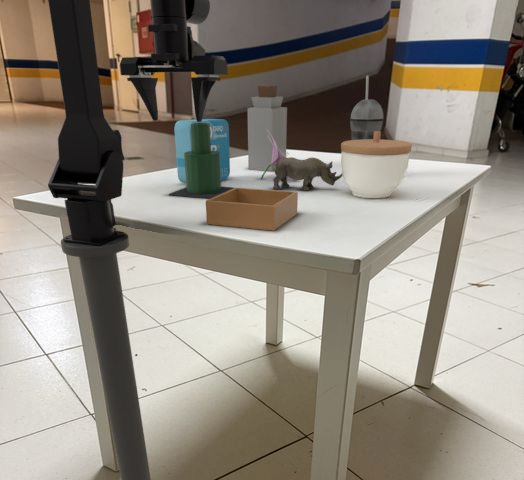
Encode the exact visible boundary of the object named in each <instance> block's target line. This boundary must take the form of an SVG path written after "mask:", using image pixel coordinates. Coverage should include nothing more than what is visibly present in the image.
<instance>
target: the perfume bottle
mask: <svg viewBox="0 0 524 480" xmlns="http://www.w3.org/2000/svg"><path fill="white" fill-rule="evenodd" d="M277 90H278V86H277V85H258V86H257V92H258V93H257V94H258V96H251V102H252V105H253V107H247V157H248V158H247V160H248V165H247V166H248V168H247V169H248V170H256V171H264V172H265V170H266V168H267V167H268V166H269V165H270V163H271V162H272V154H273V145H272V143H273V144H274V142H273V139H274V140H275V143H276V145H277V149H279V150H281V151H282V153H284V152H285V151H286V152H285V153H287V130H288V129H287V128H288V126H287V125H288V107H287V106H285V107H284V106H282V103H283V100H284V96H277V93H278V91H277ZM266 128H267V129H266ZM268 131H269V132H270V133H269V132H268ZM270 134H271V135H270ZM271 136H272V137H273V139H272V137H271ZM268 137H269V138H270V139H271V141H272V143H271V141H270V139H269V138H268ZM285 153H284V154H285ZM284 154H283V155H284ZM286 155H287V154H286ZM286 155H284V157H285V158H287V156H286ZM275 170H276V164H272V165H271V166H270V167H269V168H268V169H267V171H266V172H275Z"/></svg>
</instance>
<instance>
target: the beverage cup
mask: <svg viewBox="0 0 524 480" xmlns="http://www.w3.org/2000/svg"><path fill="white" fill-rule="evenodd" d="M369 76H370V75H366V76H365V99H362V100H360V101H358V102H357V103H356V105H355V106H354V107H353V108H352V111H351V113H350V118H349V121H350V124H349V125H350V131H351V140H363V139H373V137H374V132H375V131H380V132H381V131H382V127H383V123H384V111H383V108H382V105H381V104H380V103H379V102H378V101H377V100H376V99H369V83H370V81H369V78H370V77H369Z"/></svg>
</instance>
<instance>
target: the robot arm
mask: <svg viewBox="0 0 524 480" xmlns="http://www.w3.org/2000/svg"><path fill="white" fill-rule="evenodd" d="M149 1H150V2H149V3H150V13H151V23H152V24H148V25H147V29H148V33H153V34H152V35H153V44H154V53H150V57H144V56H143V57H142V56H131V57H130V56H125V57H122V58H121V60H120V62H119V65H118V66H119V72H120V76H128V77H126V80H127V82H131V83H132V85H133V86H134V88H135V90H136V92H137V93H138V95H139V96H140V98H141V100H142V102H143V104H144V106H145V107H146V109H147V111H148V113H149V115H150V117H151V119H152V120H153V121H154V122H156V121H159V110H158V109H159V108H158V100H157V99H158V98H157V89H156V87H157V84H158V80H159V77H153V76H154V75H155V73H194V74H195V75H197V77H195V76H193V77H190V81H191V90H192V98H193V106H194V107H193V109H194V115H195V120H197V122H201V121H202V119H204V113H205V110H206V106H207V101H208V98H209V96H210V93H211V90H212V88H213V87H214V85H215V84H216V82H220V81H221V80H222V77H220V76H228V74H229V72H228V71H229V69H228V62H227V59H226V58H225V57H224V56H221V55H213V54H212V55H208V54H207V55H206V49H205V48H204V47H203V46H202V45H201V44H200V43H199V42H198V41H196V40H194V37H193V32H192V27H191V26H188V24H191V25H200V24H202V23H203V22H205V21H206V20H207V18H208V16H209V14H210V10H211V2H210V0H149ZM47 3H48V9H49V16H50V22H51V27H52V34H53V35H52V36H53V43H54V48H55V53H56V55H55V56H56V61H57V67H58V74H59V81H60V86H61V93H62V99H63V106H64V112H65V113H64V114H65V119H64V121H63V124H62V126H61V129H60V130H59V131H60V132H59V134H58V137H57V150H58V159H57V162H56V164H55V166H54V168H53V171H52V174H51V176H50V178H49V181H48V183H47V188H48V190H49V191H50V193H51V195H52V197H53V198H54V199H64V205H65V210H66V215H67V221H68V226H69V232H70V235H71V236H69V235H68V236H69V237H67V238H64V237H63V238H64V242H67V243H75V244H83V245H91V246H102V245H104V244H106V243H108V242H111V241H113V240H115V239H117V238H120V237H122V236H124V235H125V234H124V233H125V231H121V230H117V228H116V224H117V223H116V217H115V210H114V204H113V202H112V200H114V199H118V198H120V197H121V196H122V195H123V181H124V180H123V179H124V178H123V177H124V161H125V156H124V152H123V146H122V141H123V140H122V134H121V132H120V130H119V129H113V128H112V127H111V125H110V124H109V122H108V121H107V119H106V118H105V114H104V106H103V99H102V92H101V83H100V74H99V66H98V58H97V50H96V42H95V34H94V33H95V32H94V25H93V16H92V8H91V1H90V0H47ZM187 23H188V24H187ZM120 231H121V232H120Z"/></svg>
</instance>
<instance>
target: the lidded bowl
mask: <svg viewBox="0 0 524 480" xmlns="http://www.w3.org/2000/svg"><path fill="white" fill-rule="evenodd" d="M381 133H382V132H381V130H380V131H375V132H374V137H373V139H363V140H352V139H351V140H350V139H349V140H344V141H342V142H341V144H340V150H341V151H340V152H341V153H340V171H341V174H342V179H343V181H344V184H345V185H346V187H347V188H348V189H349V190H350V192H351V195H352V196H354V197H358V198H363V199H384V198H385V199H386V198H389V197H390V196H391V194H392V193H393V192H394V191H396V190H397V188H398V187H399V186H400V185H401V184H402V183H403V181H404V179H405V177H406V174H407V171H408V167H409V162H410V156H411V151H412V148H413V147H412V146H413V144H412V143H410V142H408V141H403V140H395V139H381V136H382V135H381Z"/></svg>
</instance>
